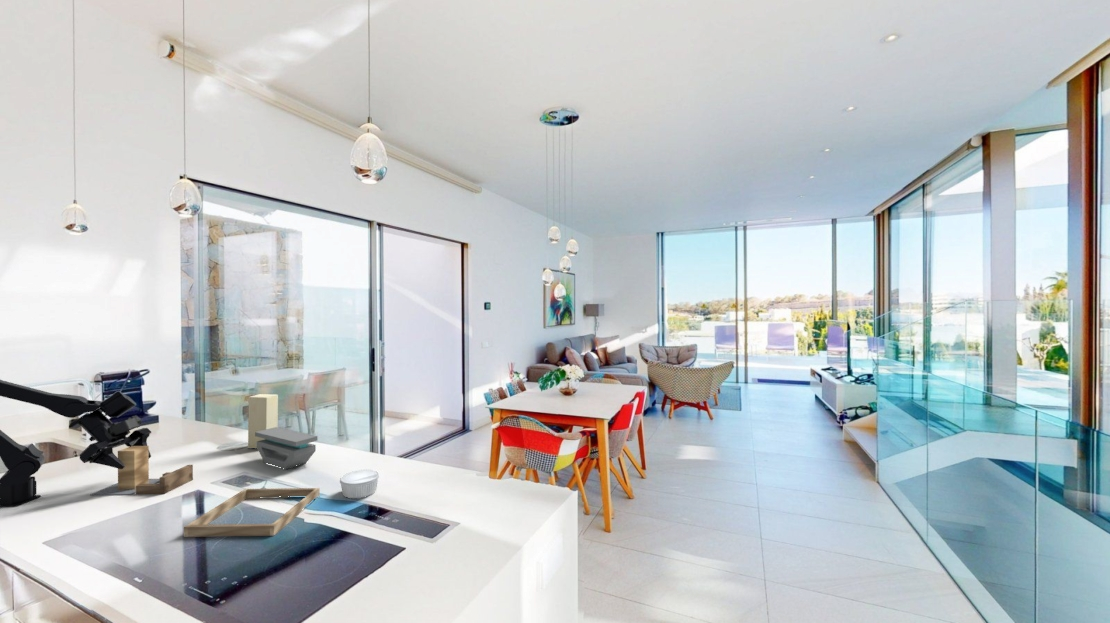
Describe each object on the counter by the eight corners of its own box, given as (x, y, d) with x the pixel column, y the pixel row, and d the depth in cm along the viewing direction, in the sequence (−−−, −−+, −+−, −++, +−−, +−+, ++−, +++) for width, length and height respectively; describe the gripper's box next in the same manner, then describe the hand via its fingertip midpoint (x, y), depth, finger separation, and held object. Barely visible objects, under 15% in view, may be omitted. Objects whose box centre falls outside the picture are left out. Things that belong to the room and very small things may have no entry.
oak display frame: (274, 535, 111) (273, 525, 111) (183, 536, 110) (183, 526, 110) (319, 496, 134) (319, 488, 134) (245, 497, 133) (245, 488, 133)
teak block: (134, 489, 138) (134, 450, 138) (118, 489, 137) (117, 451, 137) (148, 482, 143) (148, 445, 143) (132, 483, 142) (132, 446, 142)
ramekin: (364, 502, 130) (364, 484, 130) (331, 498, 132) (331, 481, 132) (386, 487, 141) (386, 470, 141) (355, 484, 143) (355, 468, 143)
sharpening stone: (255, 461, 164) (255, 432, 164) (276, 455, 171) (276, 426, 171) (296, 473, 152) (295, 442, 152) (317, 466, 159) (317, 436, 159)
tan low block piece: (164, 493, 135) (164, 477, 135) (135, 494, 135) (135, 477, 135) (192, 479, 146) (192, 464, 146) (166, 480, 146) (166, 464, 146)
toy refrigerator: (279, 444, 184) (279, 393, 184) (266, 449, 177) (266, 397, 176) (261, 443, 185) (261, 393, 184) (247, 449, 177) (247, 397, 177)
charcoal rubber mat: (131, 494, 134) (131, 493, 134) (90, 495, 134) (90, 494, 134) (164, 479, 146) (164, 478, 146) (127, 479, 146) (127, 478, 146)
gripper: (89, 417, 130) (127, 454, 131) (145, 403, 149) (179, 436, 149) (61, 444, 130) (100, 481, 131) (121, 427, 149) (155, 459, 149)
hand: (136, 462), depth 140 cm, fingers open, 9 cm apart
